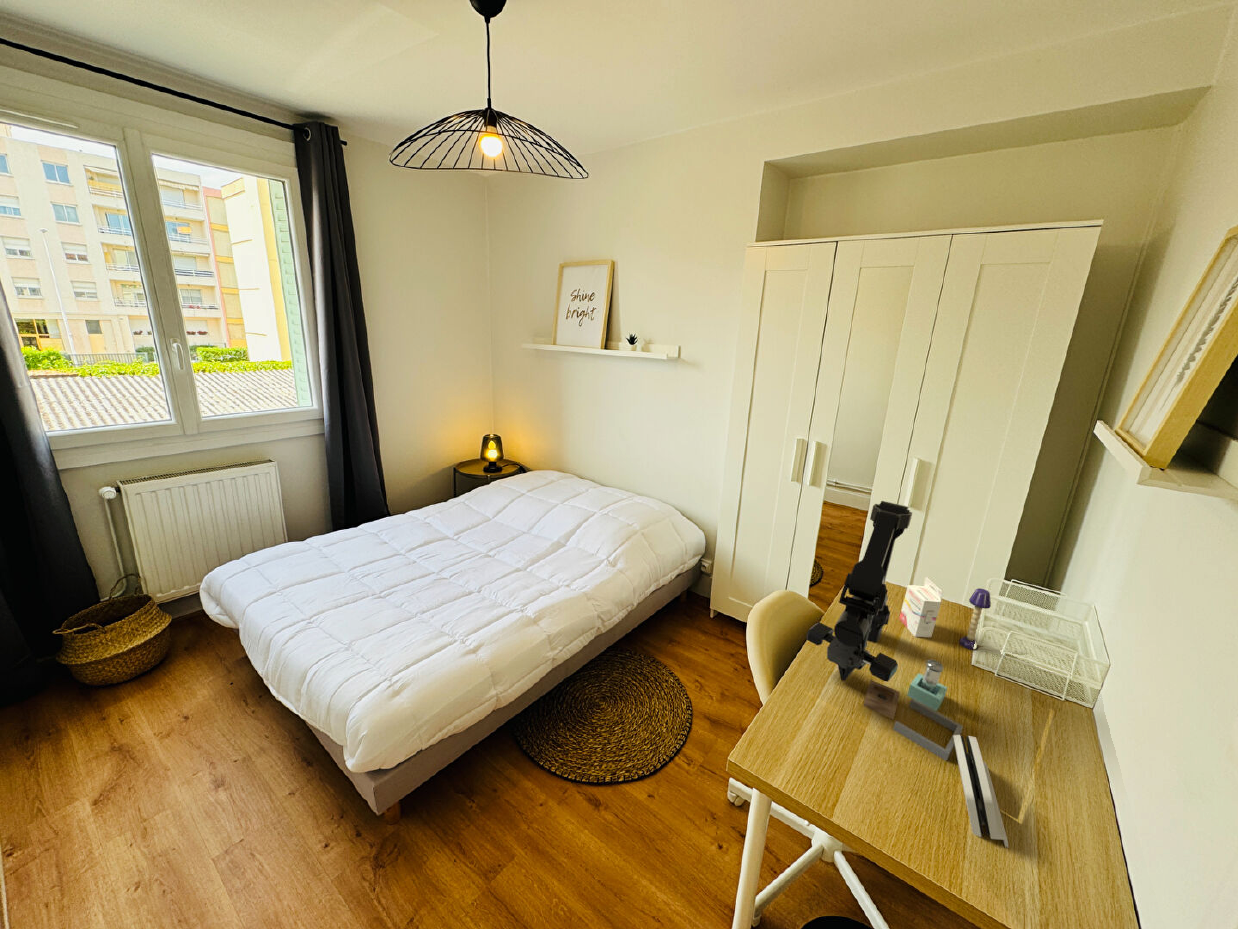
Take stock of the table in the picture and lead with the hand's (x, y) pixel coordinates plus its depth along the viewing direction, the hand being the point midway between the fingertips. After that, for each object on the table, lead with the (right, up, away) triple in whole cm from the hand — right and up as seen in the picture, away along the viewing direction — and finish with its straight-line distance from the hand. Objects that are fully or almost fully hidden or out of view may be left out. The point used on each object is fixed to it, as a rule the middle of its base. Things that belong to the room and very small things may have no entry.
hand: (843, 679), depth 113 cm
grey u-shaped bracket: (+12, -6, -12) cm, 18 cm away
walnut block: (+6, -4, -5) cm, 9 cm away
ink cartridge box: (+32, +4, +24) cm, 40 cm away
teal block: (+18, -4, -2) cm, 18 cm away
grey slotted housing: (+12, -10, -25) cm, 30 cm away
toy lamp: (+43, +1, +18) cm, 47 cm away
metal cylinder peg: (+18, -3, -3) cm, 18 cm away
